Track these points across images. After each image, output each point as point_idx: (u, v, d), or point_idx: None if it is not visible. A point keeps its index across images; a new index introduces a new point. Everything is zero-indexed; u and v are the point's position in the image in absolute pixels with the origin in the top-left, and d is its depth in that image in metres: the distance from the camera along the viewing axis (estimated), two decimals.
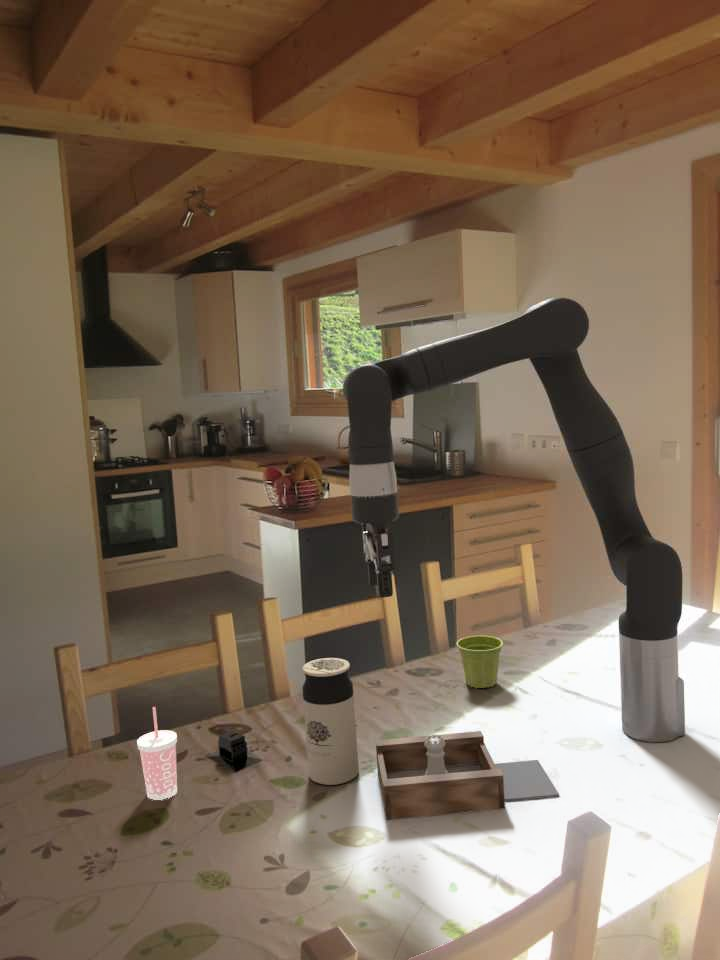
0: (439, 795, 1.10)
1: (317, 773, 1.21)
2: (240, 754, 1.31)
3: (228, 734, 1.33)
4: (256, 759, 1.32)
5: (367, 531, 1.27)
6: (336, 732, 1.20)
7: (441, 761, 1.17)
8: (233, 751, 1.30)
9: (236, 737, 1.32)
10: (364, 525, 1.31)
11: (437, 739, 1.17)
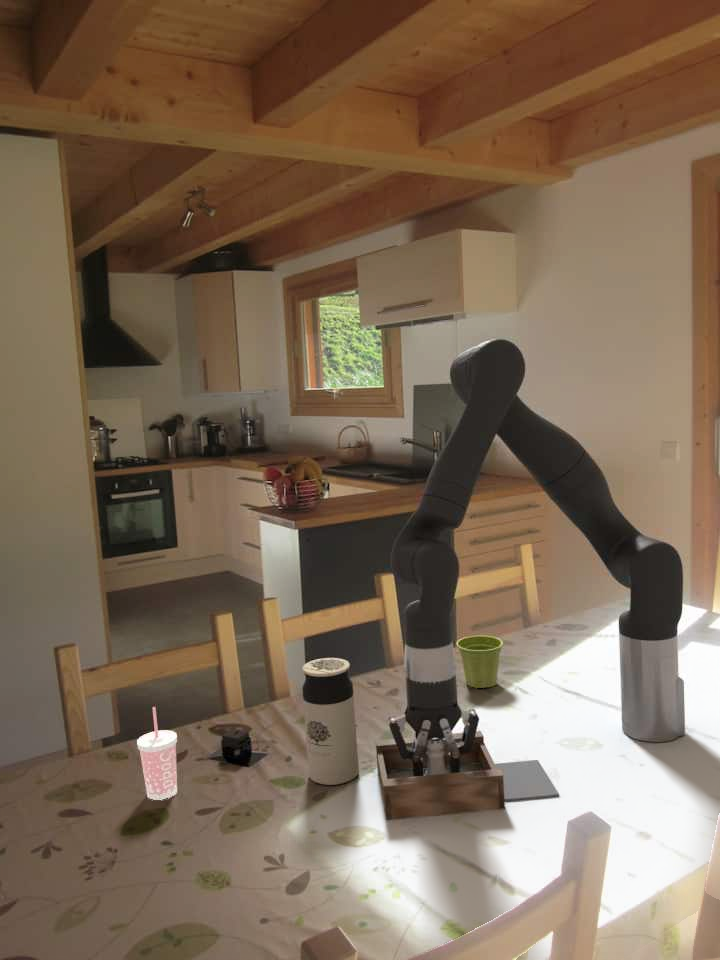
0: (439, 795, 1.10)
1: (317, 773, 1.21)
2: (246, 750, 1.33)
3: (231, 732, 1.34)
4: (262, 753, 1.34)
5: (421, 719, 1.16)
6: (336, 732, 1.20)
7: (441, 761, 1.17)
8: (241, 748, 1.31)
9: (241, 734, 1.33)
10: (396, 723, 1.16)
11: (437, 739, 1.17)
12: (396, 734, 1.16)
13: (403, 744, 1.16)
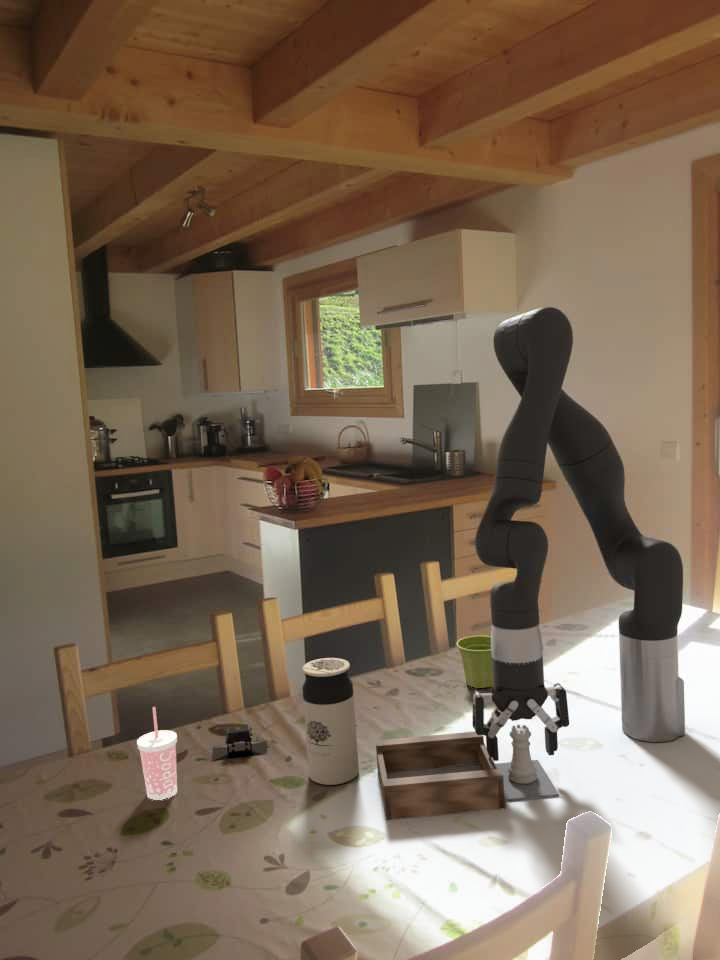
0: (439, 795, 1.10)
1: (317, 773, 1.21)
2: (251, 742, 1.36)
3: (232, 729, 1.35)
4: (261, 742, 1.38)
5: (509, 699, 1.16)
6: (336, 732, 1.20)
7: (527, 751, 1.17)
8: (251, 739, 1.35)
9: (245, 727, 1.36)
10: (483, 699, 1.16)
11: (522, 729, 1.18)
12: (479, 708, 1.16)
13: (482, 720, 1.16)
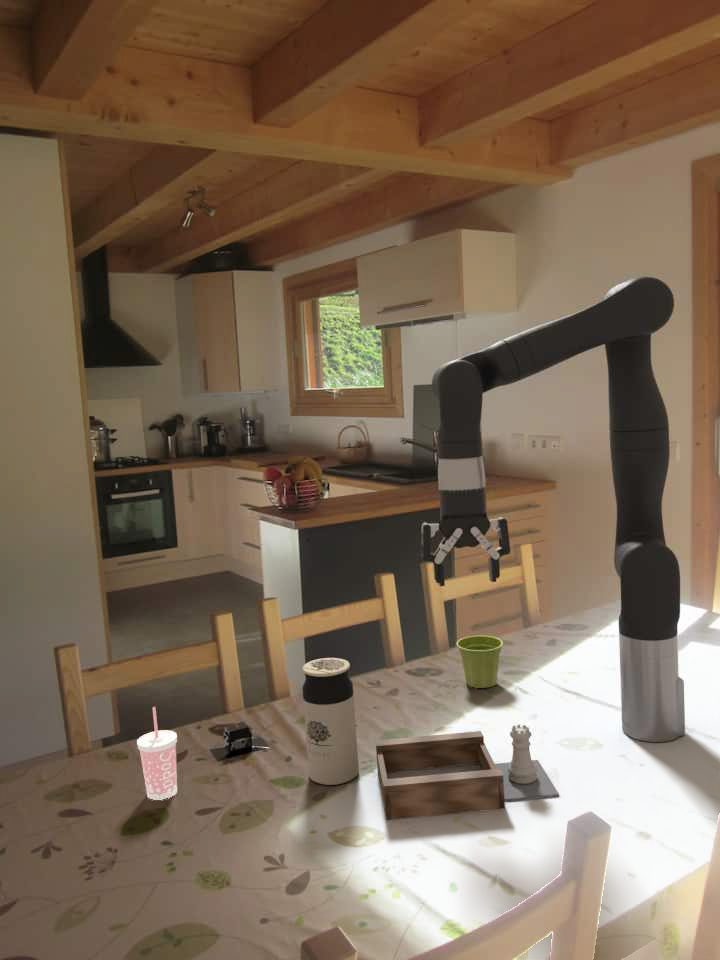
0: (439, 795, 1.10)
1: (317, 773, 1.21)
2: None
3: (231, 727, 1.36)
4: (255, 738, 1.40)
5: (454, 527, 1.26)
6: (336, 732, 1.20)
7: (527, 751, 1.17)
8: (251, 735, 1.36)
9: (243, 724, 1.37)
10: (430, 527, 1.26)
11: (523, 729, 1.18)
12: (426, 536, 1.26)
13: (429, 547, 1.26)
